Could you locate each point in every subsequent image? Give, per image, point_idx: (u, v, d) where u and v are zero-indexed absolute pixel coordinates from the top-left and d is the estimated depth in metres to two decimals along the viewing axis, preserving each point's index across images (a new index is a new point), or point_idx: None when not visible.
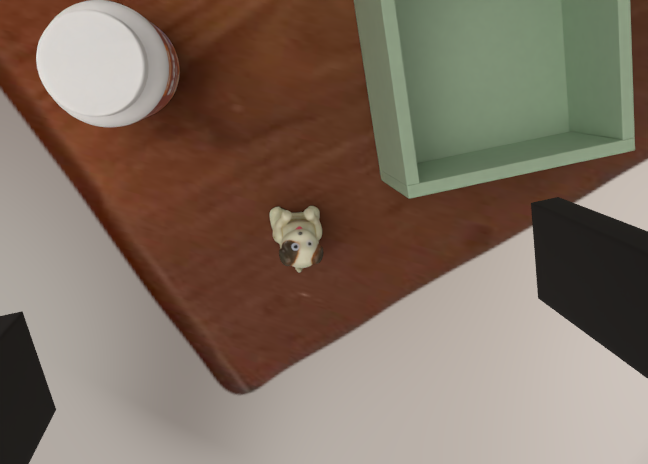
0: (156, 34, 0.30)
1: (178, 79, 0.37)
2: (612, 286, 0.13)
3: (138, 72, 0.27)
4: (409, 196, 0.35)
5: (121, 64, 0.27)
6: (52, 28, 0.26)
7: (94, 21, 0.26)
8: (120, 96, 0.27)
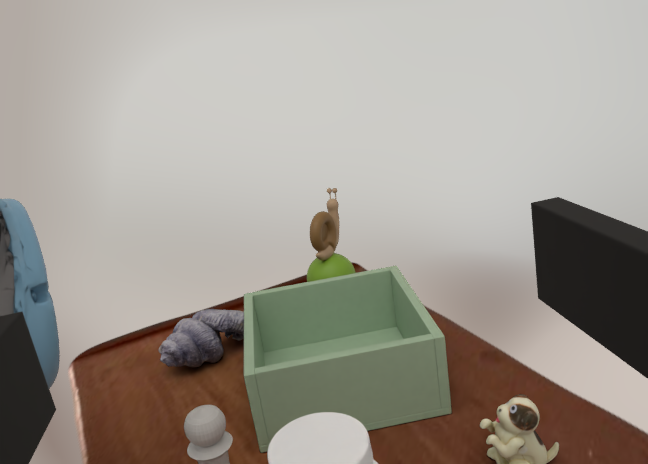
0: None
1: None
2: (612, 286, 0.13)
3: (327, 414, 0.29)
4: (442, 336, 0.43)
5: (319, 424, 0.28)
6: None
7: (279, 442, 0.27)
8: (349, 423, 0.28)
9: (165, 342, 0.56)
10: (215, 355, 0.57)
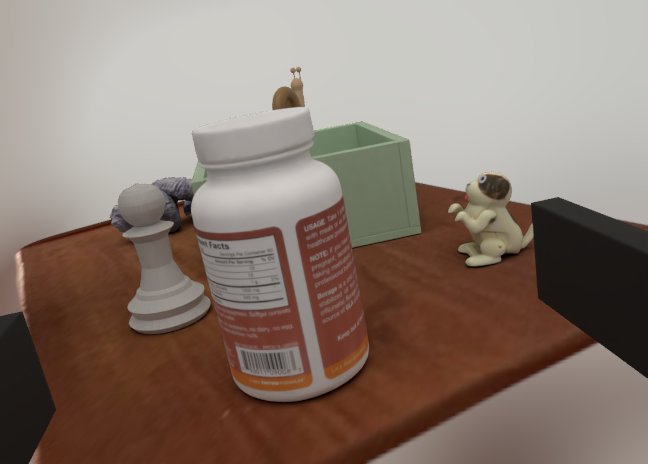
0: None
1: None
2: (612, 286, 0.13)
3: None
4: (407, 140, 0.40)
5: (254, 115, 0.25)
6: (206, 130, 0.22)
7: (207, 126, 0.24)
8: (288, 109, 0.24)
9: (116, 205, 0.52)
10: (171, 221, 0.53)
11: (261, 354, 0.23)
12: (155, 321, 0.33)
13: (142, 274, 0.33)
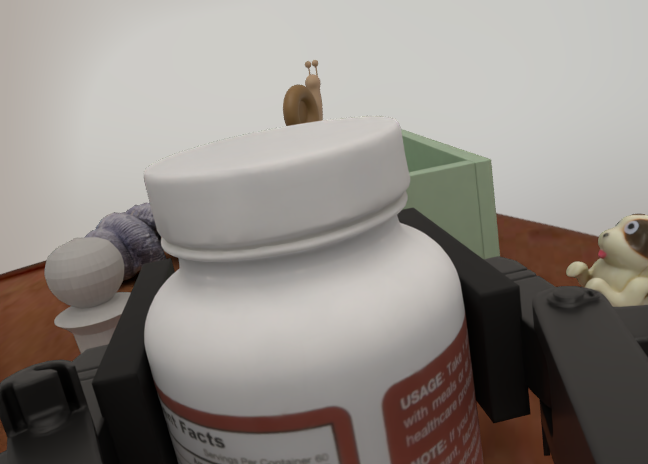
0: None
1: None
2: None
3: (298, 124, 0.13)
4: (488, 160, 0.27)
5: (279, 132, 0.12)
6: (171, 171, 0.10)
7: (179, 156, 0.11)
8: (347, 120, 0.12)
9: None
10: (152, 261, 0.40)
11: None
12: None
13: None
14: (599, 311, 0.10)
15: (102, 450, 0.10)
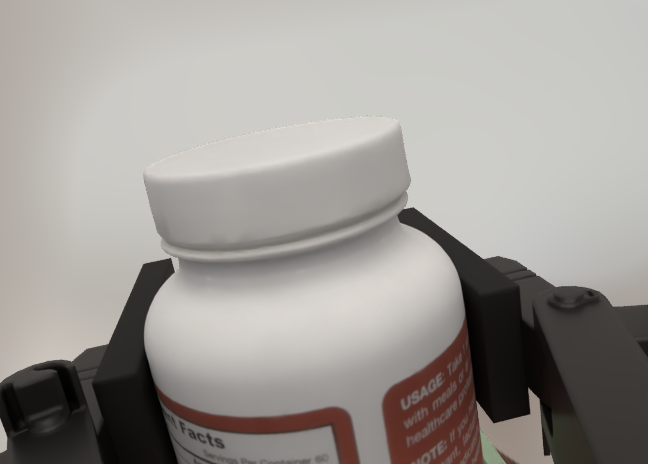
0: None
1: None
2: None
3: (298, 124, 0.13)
4: None
5: (278, 132, 0.12)
6: (171, 171, 0.10)
7: (178, 156, 0.11)
8: (347, 120, 0.12)
9: None
10: None
11: None
12: None
13: None
14: (599, 311, 0.10)
15: (102, 450, 0.10)
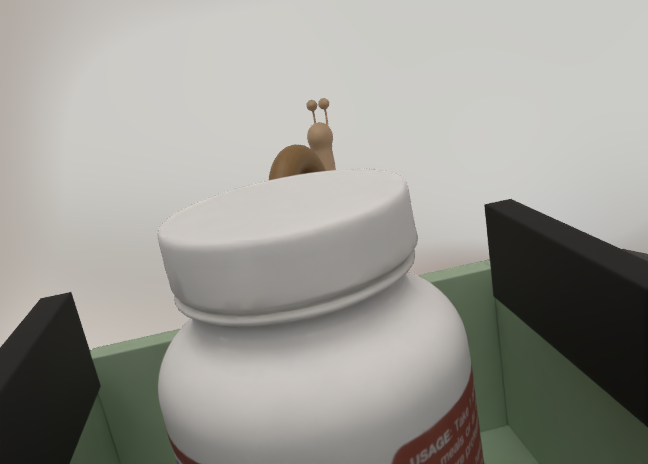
0: None
1: None
2: (551, 284, 0.13)
3: (306, 174, 0.13)
4: None
5: (288, 184, 0.12)
6: (186, 236, 0.10)
7: (191, 212, 0.12)
8: (355, 174, 0.12)
9: None
10: None
11: None
12: None
13: None
14: None
15: None
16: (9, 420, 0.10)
